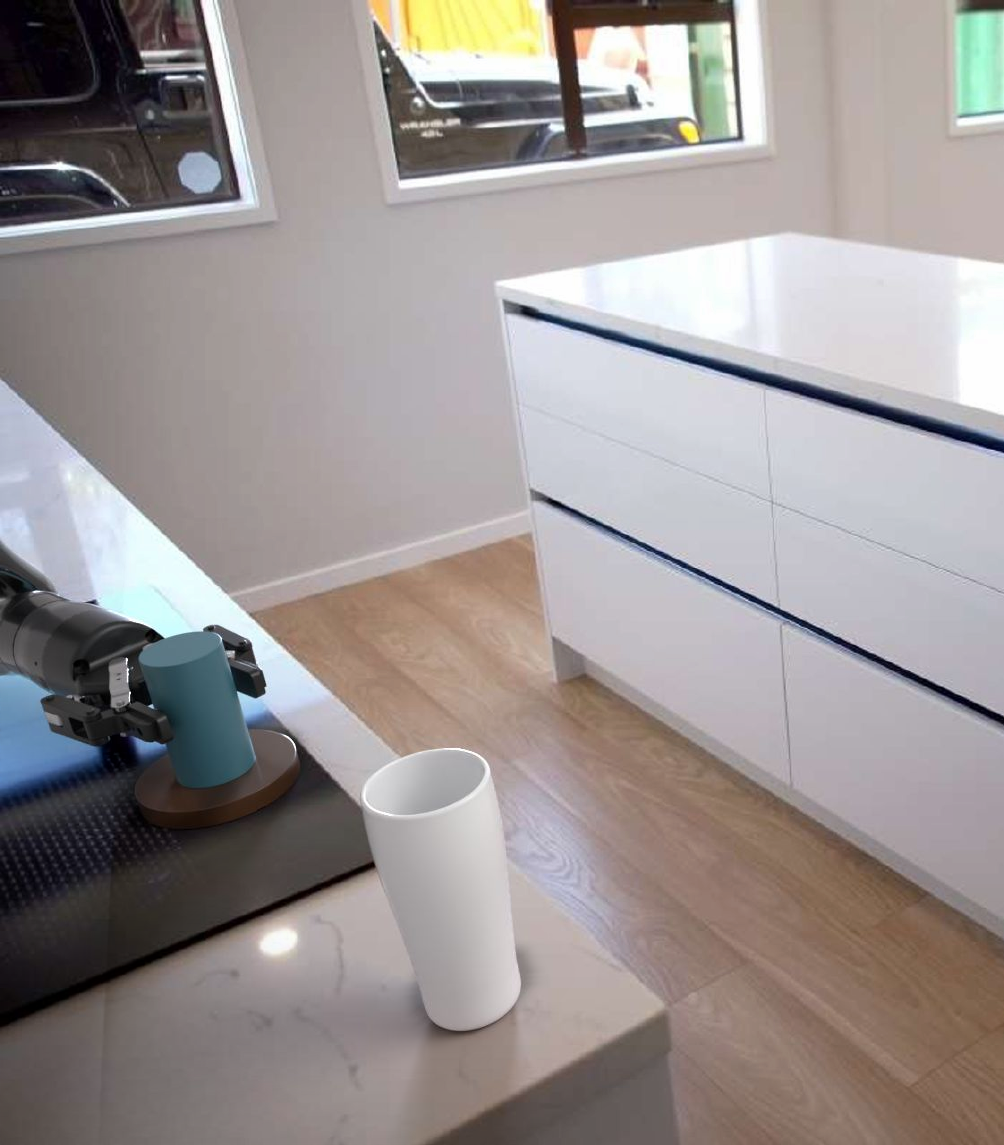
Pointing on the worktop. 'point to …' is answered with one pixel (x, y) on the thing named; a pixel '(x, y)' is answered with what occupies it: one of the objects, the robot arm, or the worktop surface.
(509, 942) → the drinking glass
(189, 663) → the cylinder
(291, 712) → the worktop surface
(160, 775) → the walnut disc
